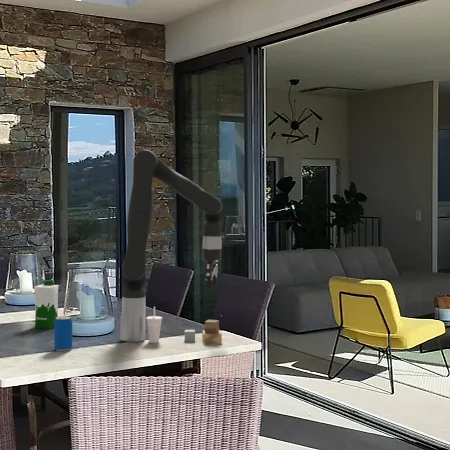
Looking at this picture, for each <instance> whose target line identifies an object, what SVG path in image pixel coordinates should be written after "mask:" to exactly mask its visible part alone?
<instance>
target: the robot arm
mask: <svg viewBox="0 0 450 450" xmlns="http://www.w3.org/2000/svg"><path fill="white" fill-rule="evenodd" d="M132 161H133V162H132V164H133V165H132V167H133V169H132V170H133V172H132V175H133V178H132V188H131V189H132V190H131V193H130V199H129V205H128V214H127V225H126V227H127V229H126V236H127V245H126V251H125V256H124V261H123V263H122V266H121V267H122V268H121V272H122V273H121V279H122V280H121V287H122V288H121V297H122V298H121V316H119V319H120V320H119V333H120V334H119V341H123V342H127V343H130V342H131V343H132V342H133V343H135V342H143V341H145V340H146V292H147V291H146V290H147V289H146V269H147V266H146V254H147V253H146V251H147V243H148V239H149V234H150V231H151V230H150V229H151V224H152V216H153V194H152V192H153V191H152V185H153V179H154V178H155V179H157V180H159V181H160V182H162V183H163V184H165V185H166V186H167V187H169V188H170V189H172V190H173V191H174V192H176V193H177V194H178V195H179V196H181V197H182V198H184V199H185V200H187V201H189V202H191V203H193V204H194V205H195V206H197V207H198V208H199V209H200V210H202V211H203V212H204V223H203V224H204V225H203V239H202V256H201V259H202V260H203V261H207V263H205V264H204V277H203V278H204V280H205V290H207V291H212V290H213V288H217V278H218V275H219V260H222V243H223V241H222V215H223V214H222V213H223V203H222V201H221V200H220V198H219V197H216V196H214V195H212V194H211V193H209V192H208V191H206V190H204V189H203V188H202V187H201V186H200V185H198V184H197V183H195V182H193V181H192V180H191V179H189V178H187V177H185V176H183V175H182V174H180V173H178V172H177V171H175V170H174V169H172V168H171V167H169V166H168V165H167V164H165V163H164V162H163V161H162V160H161V158H159V157H158V156H157V154H156V153H154V152H153V151H151V150H149V149H141V150H139V151H138V152H137V153H136V154H135V155H134V158H133V160H132Z"/></svg>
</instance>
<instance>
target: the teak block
mask: <svg viewBox="0 0 450 450" xmlns="http://www.w3.org/2000/svg"><path fill="white" fill-rule="evenodd" d="M201 331H202V333H201V337H202V338H201V339H202V343H203V344H204V345H205V344H206V345H208V344H209V345H210V344H211V345H213V344H215V345H216V344H221V345H222V340H223V339H222V336H223V335H222V332H221V330H220V329H219V332H218V333H216V334H210V333H205V330H201Z"/></svg>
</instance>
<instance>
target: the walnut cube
mask: <svg viewBox="0 0 450 450" xmlns="http://www.w3.org/2000/svg"><path fill="white" fill-rule="evenodd" d="M219 325H220V320H216V319H207V320H205V321H204V331H205V333H210V334H216V333H218V332H219V330H220V326H219Z"/></svg>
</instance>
